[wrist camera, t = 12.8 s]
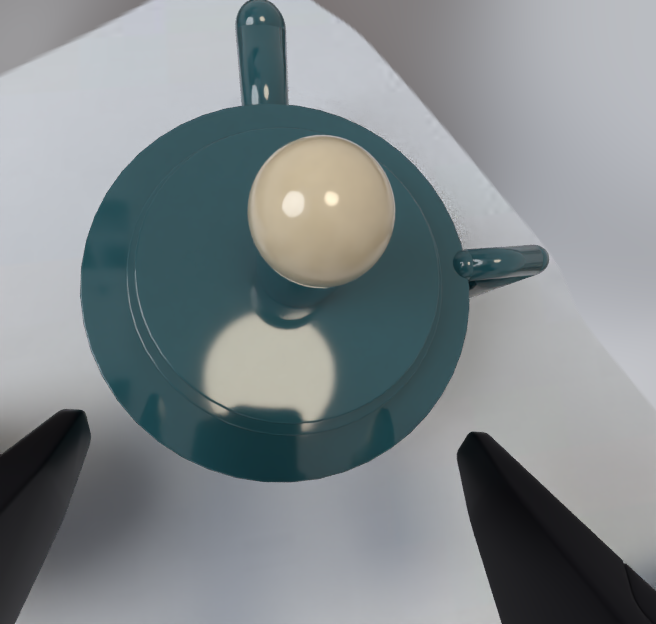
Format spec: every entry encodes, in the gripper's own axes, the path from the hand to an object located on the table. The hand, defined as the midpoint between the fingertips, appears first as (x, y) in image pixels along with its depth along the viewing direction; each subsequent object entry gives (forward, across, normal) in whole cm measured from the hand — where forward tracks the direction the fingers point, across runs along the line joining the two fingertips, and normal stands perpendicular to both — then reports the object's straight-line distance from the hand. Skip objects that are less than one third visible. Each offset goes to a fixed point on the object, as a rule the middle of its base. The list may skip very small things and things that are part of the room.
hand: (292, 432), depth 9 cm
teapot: (+12, -1, +2) cm, 13 cm away
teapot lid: (+5, 0, -2) cm, 5 cm away
